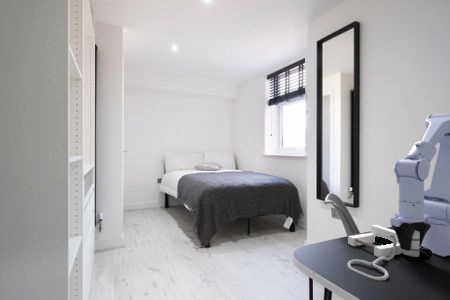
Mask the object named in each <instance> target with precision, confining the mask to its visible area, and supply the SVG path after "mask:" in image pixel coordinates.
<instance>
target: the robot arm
mask: <svg viewBox="0 0 450 300" xmlns="http://www.w3.org/2000/svg"><path fill="white" fill-rule="evenodd" d="M425 128H426V130H425V132H424V134H423V136H422V138H421V139H420V141H416V142H414V144H413V145H412V146H411V148H410V150H409V151H408V152H407V154H406V155H405V157H404V158H401V159H400V160H398V161H396V163H395V165H394V168H393V172H394V175H395V177H396V184H397V185H398V212H395V213H394V216H393V217H390V222H389V223H390V225H391V228H393V229H392V230H394V231H395V232H396V235H397V237H398V241H399V244H400V248H401V249H404V250H406V251H410V248H411V241H412V237H413V234H414V232H415V230H416V231H419V232H420V242H419V248H421V246H423V247H426V248H428V249H430V250H431V251H432V253H431V254H434V255H438V256H440V257H447V256H450V112H444V113H435V114H433V113H430V114H428V116H427V117H426V119H425ZM438 143H439V147H438V150H437V147H436V146H437V144H438ZM437 151H438V152H437ZM436 153H437V155H436ZM435 155H436V160H435V165H434V169H433V171H432V172H433V174H432V175H431V176H432V177H431V180H430V185H429V188H426V189H425V180H427V178H428V177H429V174H430V169H431V162H432V160H433V158H434V157H435Z"/></svg>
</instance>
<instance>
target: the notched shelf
mask: <svg viewBox="0 0 450 300" xmlns="http://www.w3.org/2000/svg"><path fill="white" fill-rule="evenodd" d="M389 234H391V235H393V236H394V237H395V239H396V252H395V255H394V256H396V255H400V254H401V253H402V249H401V248H400V244H399V241H398V237H397V235H396V232H395V231H394V229H390V228H387V227H384V226H380V225H378V224H373V225H372V224H371V225H370V232H367V233H361V234H355V235H349V236H347V244H348V245H349V244H350V246H352V247H357V246H363V245H364V246H367V247H368V248H372V249H373V255H374V257H375V256H376V257H377V258H380V257H386V258H388V257H389V256H390V255H391V253H392V249H393V243H391V244H386V245H383V244H381V245H376V244H374V243H376V242H375V237H376V236H377V237H382V238H385V239H388V240H390V241H392V242H393V240H392V237H387V236H388V235H389ZM356 245H357V246H356ZM402 254H403V253H402Z"/></svg>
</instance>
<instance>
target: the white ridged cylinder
mask: <svg viewBox="0 0 450 300" xmlns="http://www.w3.org/2000/svg"><path fill="white" fill-rule="evenodd" d="M419 242H420V232H419V231H416V230H415V232H414V234H413V237H412V241H411V248H410V251H406V250H404V249H402V254H404V255H405V256H409V257H413V258H414V257H415V258H418V257H420V251H421V249H420V248H419Z"/></svg>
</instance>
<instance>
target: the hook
mask: <svg viewBox="0 0 450 300" xmlns="http://www.w3.org/2000/svg"><path fill="white" fill-rule="evenodd" d="M387 237H392V240H393V249H392V253H391V255H390V256H388V257H380V258H379V257H377V258H376V259H375V260H373V261H371V262H369V261H367V260H362V259H359V258H358V259H351V260H349V261H348V262H347V264H346V266H347V269H349V270H350V271H351V272H354V273H356V274H359V275H361V276H364V277H366V278H368V279H371V280H375V281H386V280H387V279H388V278H389V276H390V275H389V271H387V270H386V269H385V268H384V267H382V266H380V265H377V264H379V262H381V261H386V262H388V261H391V260H392V259H394V257H395V256H396V255H395V252H396V239H395V237H394V236H393V235H391V234H389V235H388V236H387ZM355 263H359V264H364V265H367V266H371V267H372V266H373V268H375V269H376V270H380V271H381V272H382V273H384V275H383V276H373V275H370V274H367V273H365V272H363V271H360V270H358V269H356V268H353V267H352V264H355Z"/></svg>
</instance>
